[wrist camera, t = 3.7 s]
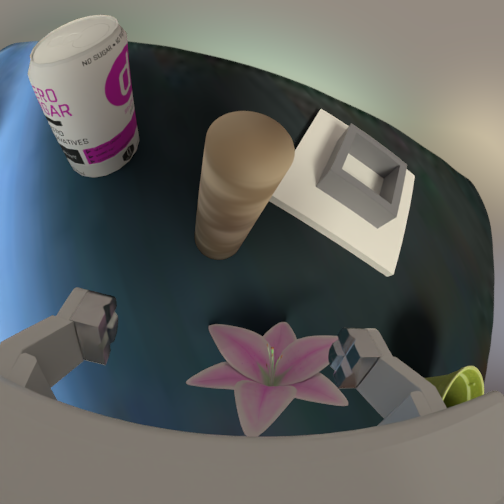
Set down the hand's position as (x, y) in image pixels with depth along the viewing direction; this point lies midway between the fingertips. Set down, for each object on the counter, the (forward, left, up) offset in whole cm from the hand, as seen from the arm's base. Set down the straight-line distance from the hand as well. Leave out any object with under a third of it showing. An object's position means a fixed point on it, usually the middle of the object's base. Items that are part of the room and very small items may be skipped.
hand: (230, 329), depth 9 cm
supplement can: (-19, +10, -15) cm, 26 cm away
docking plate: (+7, +22, -15) cm, 27 cm away
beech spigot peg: (-3, +8, -15) cm, 17 cm away
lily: (+5, 0, -15) cm, 16 cm away
